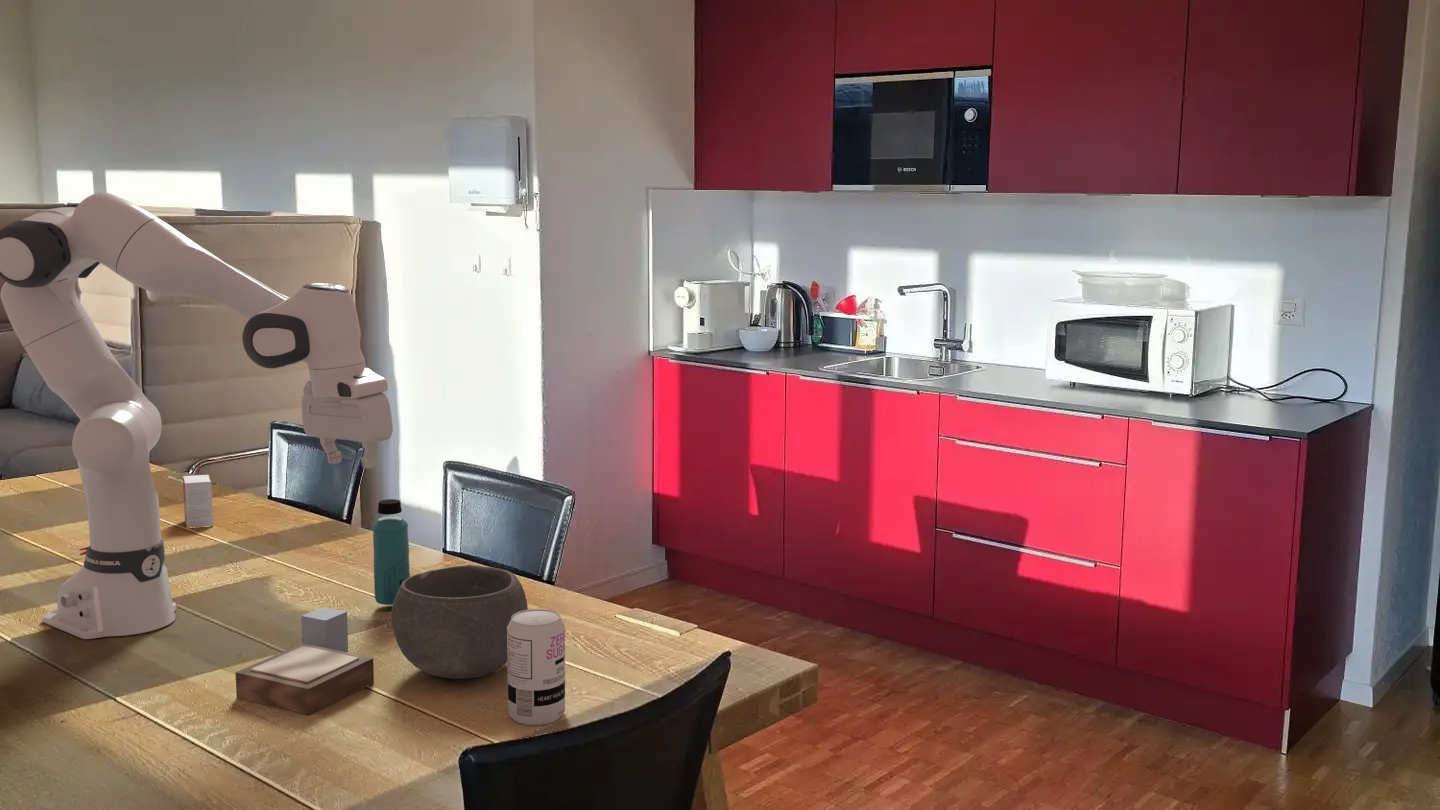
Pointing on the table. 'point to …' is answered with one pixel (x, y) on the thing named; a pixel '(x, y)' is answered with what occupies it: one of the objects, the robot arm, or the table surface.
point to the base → (304, 678)
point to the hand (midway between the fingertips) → (352, 465)
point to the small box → (197, 501)
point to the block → (326, 629)
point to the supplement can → (536, 666)
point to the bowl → (457, 619)
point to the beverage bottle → (390, 552)
